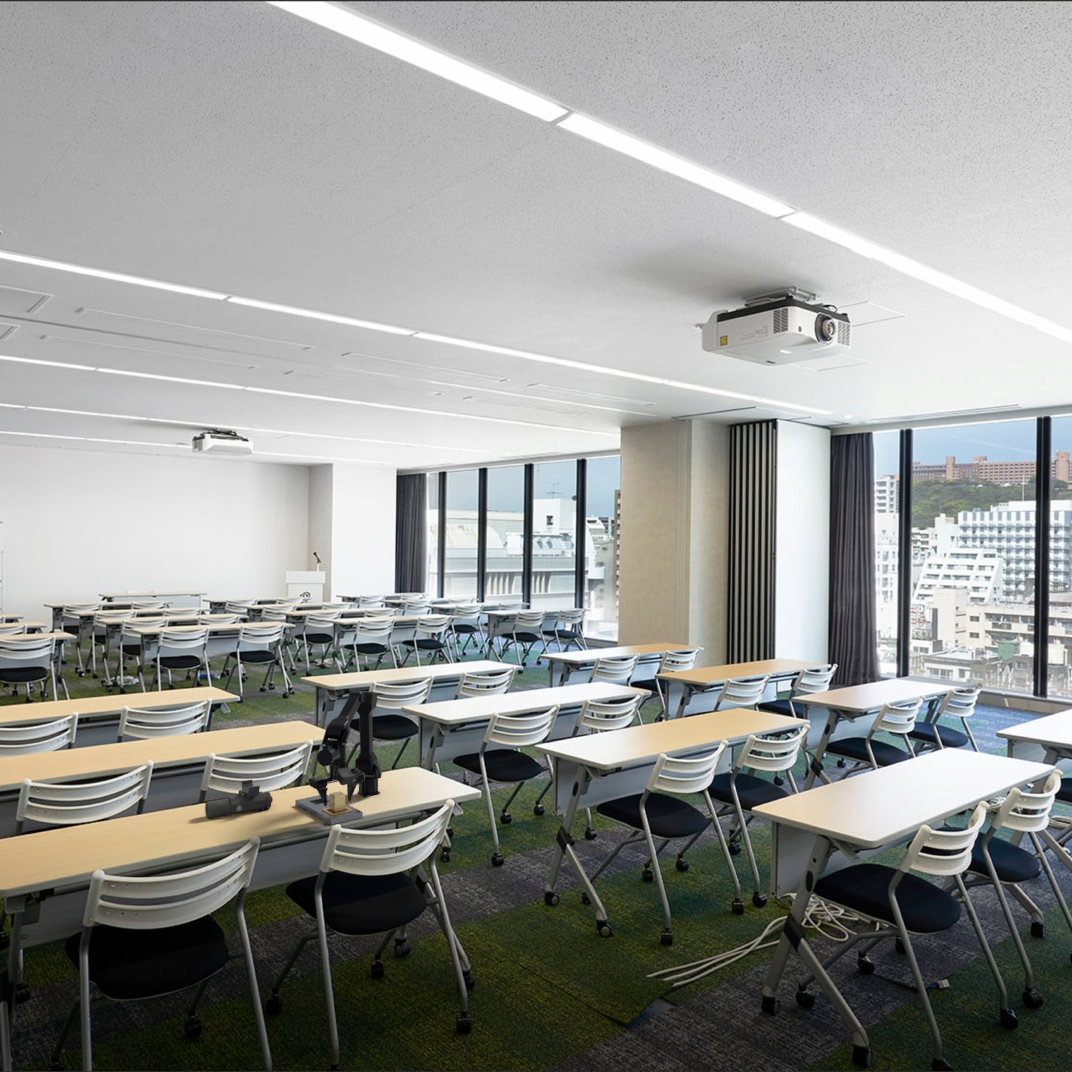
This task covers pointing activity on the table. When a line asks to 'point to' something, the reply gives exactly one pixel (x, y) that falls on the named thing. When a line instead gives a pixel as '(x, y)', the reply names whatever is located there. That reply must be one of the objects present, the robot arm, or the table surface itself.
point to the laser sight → (240, 802)
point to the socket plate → (327, 810)
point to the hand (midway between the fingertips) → (337, 803)
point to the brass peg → (337, 802)
